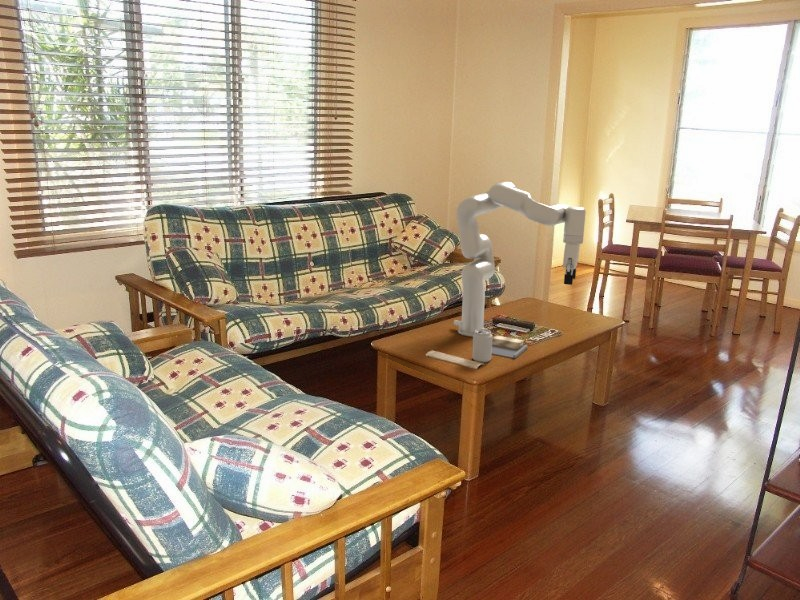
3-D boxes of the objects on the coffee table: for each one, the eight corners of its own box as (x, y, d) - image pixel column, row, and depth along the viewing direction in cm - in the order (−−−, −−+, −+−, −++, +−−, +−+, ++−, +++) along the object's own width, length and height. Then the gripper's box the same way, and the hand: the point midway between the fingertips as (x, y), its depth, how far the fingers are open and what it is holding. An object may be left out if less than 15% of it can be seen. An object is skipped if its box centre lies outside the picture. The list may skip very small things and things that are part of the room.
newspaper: (425, 357, 283) (425, 353, 283) (435, 352, 289) (435, 348, 288) (476, 371, 270) (476, 366, 269) (486, 365, 275) (486, 361, 275)
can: (478, 355, 284) (480, 326, 281) (494, 359, 280) (496, 330, 277) (468, 360, 279) (469, 331, 276) (484, 364, 274) (485, 335, 271)
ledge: (492, 345, 296) (492, 338, 295) (495, 342, 299) (496, 335, 298) (519, 350, 290) (520, 343, 289) (522, 347, 294) (523, 340, 293)
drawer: (478, 351, 288) (478, 348, 288) (491, 341, 300) (491, 338, 300) (515, 358, 281) (515, 355, 280) (527, 348, 293) (527, 345, 292)
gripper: (566, 234, 285) (562, 275, 290) (560, 242, 270) (556, 285, 274) (585, 235, 283) (581, 277, 288) (580, 243, 267) (576, 287, 272)
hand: (569, 281), depth 281 cm, fingers open, 9 cm apart
